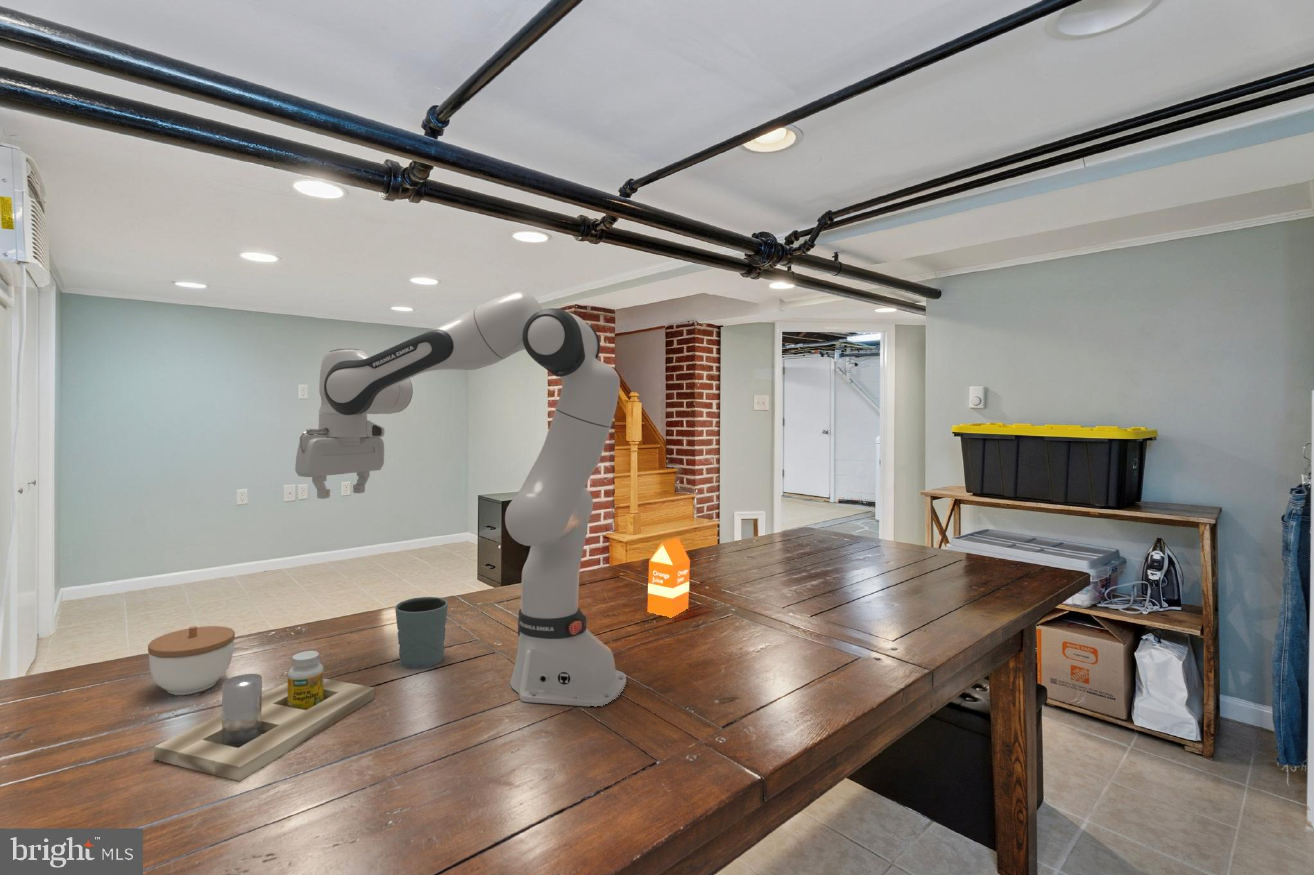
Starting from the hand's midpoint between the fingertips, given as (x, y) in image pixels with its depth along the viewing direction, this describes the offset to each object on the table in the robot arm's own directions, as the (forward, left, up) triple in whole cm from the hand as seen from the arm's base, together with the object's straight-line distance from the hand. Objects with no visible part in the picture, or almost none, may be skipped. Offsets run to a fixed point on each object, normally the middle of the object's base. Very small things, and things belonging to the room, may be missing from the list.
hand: (341, 495), depth 124 cm
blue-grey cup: (-16, -5, -34) cm, 38 cm away
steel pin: (-11, +31, -34) cm, 47 cm away
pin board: (-11, +25, -34) cm, 44 cm away
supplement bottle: (-11, +19, -34) cm, 41 cm away
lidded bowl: (+15, +19, -34) cm, 42 cm away
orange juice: (-57, -53, -34) cm, 85 cm away
